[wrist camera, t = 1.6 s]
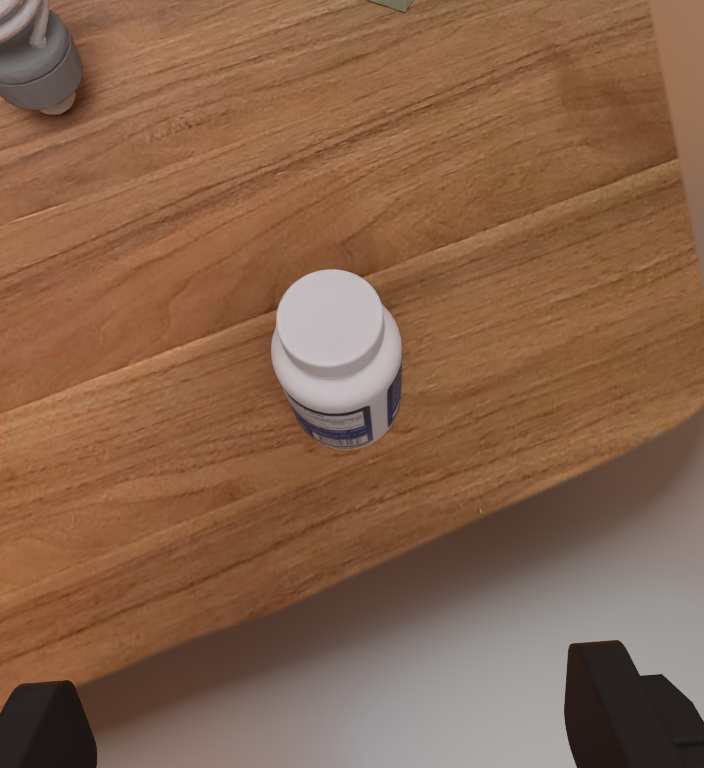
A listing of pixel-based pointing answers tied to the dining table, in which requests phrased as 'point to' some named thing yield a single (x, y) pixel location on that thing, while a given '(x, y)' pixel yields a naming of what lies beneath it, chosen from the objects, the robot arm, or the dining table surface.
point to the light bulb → (37, 58)
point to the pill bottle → (338, 359)
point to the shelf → (395, 4)
